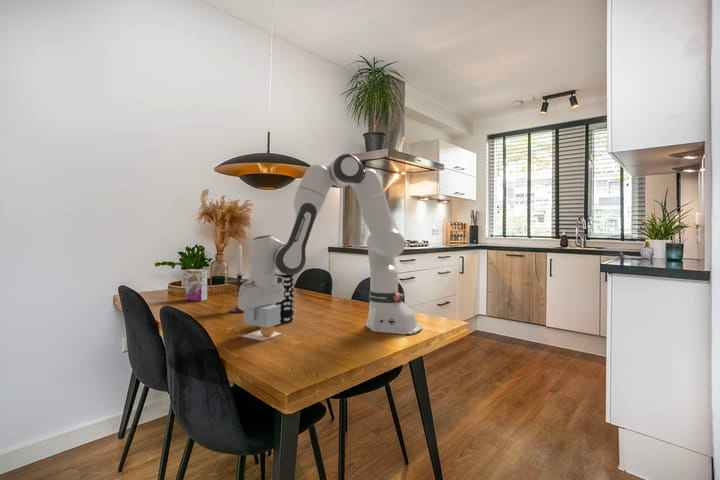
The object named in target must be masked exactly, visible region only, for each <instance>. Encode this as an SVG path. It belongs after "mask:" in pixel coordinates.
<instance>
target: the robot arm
mask: <svg viewBox="0 0 720 480" xmlns="http://www.w3.org/2000/svg"><path fill="white" fill-rule="evenodd" d="M379 177H380V176H379V175H378V173H377V172H376V171H375V170H374V169H371V168H366V167H365V165H363V163H362V162H361V161H360V159H359V158H358V157H357V156H356V155H354V154H352V153H351V154H350V153H344V154H341V155H338V157H336V158H335V159H333V160H332V162H331V163H330V164H329V165H328V166H324V165H322V164H312V165H310V166H309V167H308V168H307V169H306V171H305V173H304V174H303V176H302V179H301V180H300V181H299V184H298V187H297V190H296V192H295V194H294V195H295V196H294V201H293V207H294V211H295V220H294V224H293V226H292V229H291V231H290V235H289V238H288V240H287V242H286V243H285V242H283V241H281V240H279V239H277V238H276V237H274V236H273V235H270V234H267V235H261V236H257V237H255V238H253V239H252V240H251V243H250V247H249V263H250V269H249V275H248V279H249V282H245V283H243V284H242V285H241V286H240V290H239V295H238V297H237V300H238V301H237V306H238V308H239V309H241V310H247V312H248V314H249V315H250V320H251V321H254V320H256V315H254V312H253V311H254V308H257V307H261V306H265V305H269V304H272V305H275V303H278V302H282V300H283V298H284V286H283V284H282V283H283V282H284V278H283V277H280V276H277V275H275V273H276V272H275V270H278V271H279V272H280V273H284V274H286V275H294V276H295V275H297V274H298V273H300V272H301V271H302V270H303V269H304V268H305V265H306V257H307V256H306V246H307V245H308V241H309V238H310V234H311V231H312V228H313V226H314V223H315V221H316V219H317V217H318V215H319V213H320V212H321V210H322V208H323V205H324V203H325V202H326V198H327V195H328V194H329V193H328V192H329V191H330V189H331V188H336V189H340V188H342V189H343V188H345V187H348V186H350V187H351V188H352V189H353V190H354V192H355V195H356V199H357V202H358V205H359V210H360V212H361V216H362V219H363V221H364V223H365V225H366V227H367V229H368V231H369V235H368V236H367V238H366V247H367V253H368V254H367V255H368V263H369V269H370V271H369V272H370V280H369V281H370V283H369V284H370V286H369V287H370V289H369V292H368V304H369V307H368V315H367V320H366V323H365V326H366V328H368V329H370V331H371V332H375V333H376V332H378V333H386V334H395V333H396V335H398V334H399V335H406V334H411V335H413V334H412V333H415V332H418V331H419V330H421V329H422V330H423V325H422V324H420V323H417V317H416V313H415V311H414V310H413V309H412V308H411V307H409V306H408V304H406V303H404V301H403V297H404V293H401V292H399V289H398V288H399V281H398V280H399V271H398V269H397V265H396V260H395V258H396V257H397V256H399V255H401V254H402V253H403V251H404V250H405V248H406V240H405V238H404V236H403V235H402V234H401V232H400V231H399V228H398V226H397V224H396V221H395V220H394V217H393V216H392V213H391V210H390V206H389V204H388V200H387V197H386V194H385V193H386V192H385V190H384V187H383V184H382V181H381V180H380V178H379ZM237 306H236V307H237ZM422 330H421V331H422ZM418 333H419V332H418ZM415 334H416V333H415Z"/></svg>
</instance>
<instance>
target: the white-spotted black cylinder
mask: <svg viewBox="0 0 720 480" xmlns="http://www.w3.org/2000/svg"><path fill="white" fill-rule="evenodd" d="M275 275H277V276H280V277H283V278H284V282H283V283H282V284H283V286H284V298H283V300H282V302H278V303H275V305H278V306H281V307H280V324H289V323H292V322H294V312H295V311H294V307H295V306H294V298H295V297H294V292H295V291H294V290H295V289H294V288H295V287H294V286H295V281H294V278H295V277H294V276H295V274H294V275H286V274H284V273H282V272H275Z"/></svg>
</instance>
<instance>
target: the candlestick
mask: <svg viewBox="0 0 720 480" xmlns="http://www.w3.org/2000/svg"><path fill="white" fill-rule="evenodd" d="M237 239H238V246H237V274H235V276H236V278H235V279H227V282H226V284H228V285H235V286H236V287H237V294H236V295H235V296H236V297H237V298H238V295H239V290H240V286H241V285H242V284H243V283H245V282H249V278H248V279H246V278H243V273H242V271H243V270H242V269H243V268H242V267H243V266H242V265H243V261H242V260H243V259H242V258H243V255H242V254H243V251H242V250H243V247H242V245H241V239H240V237H238V238H237ZM236 302H238V299H236ZM228 311H229V313H230V312H231V314H244V310H241V309H239V308H238V306H236V307H231V308H230V309H229V310H228Z"/></svg>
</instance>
